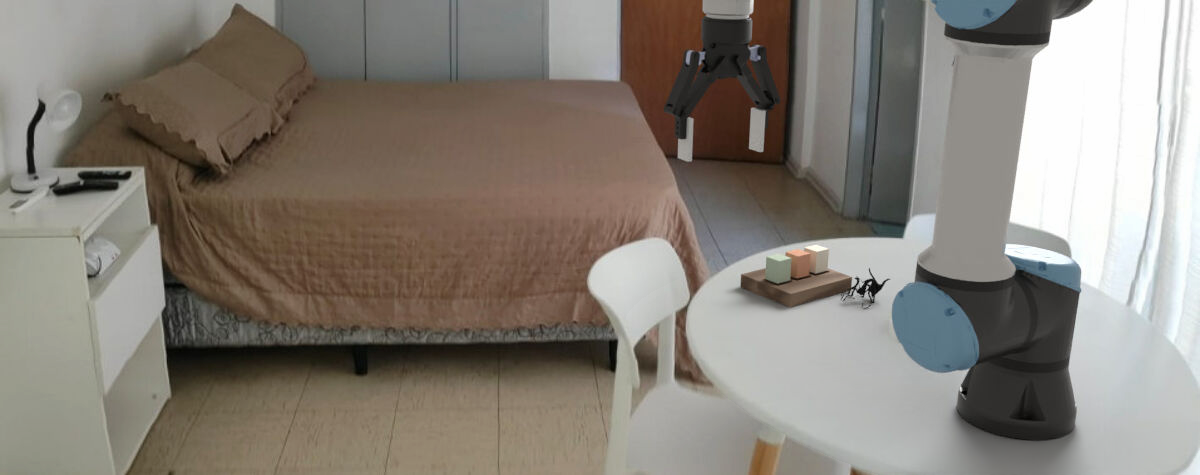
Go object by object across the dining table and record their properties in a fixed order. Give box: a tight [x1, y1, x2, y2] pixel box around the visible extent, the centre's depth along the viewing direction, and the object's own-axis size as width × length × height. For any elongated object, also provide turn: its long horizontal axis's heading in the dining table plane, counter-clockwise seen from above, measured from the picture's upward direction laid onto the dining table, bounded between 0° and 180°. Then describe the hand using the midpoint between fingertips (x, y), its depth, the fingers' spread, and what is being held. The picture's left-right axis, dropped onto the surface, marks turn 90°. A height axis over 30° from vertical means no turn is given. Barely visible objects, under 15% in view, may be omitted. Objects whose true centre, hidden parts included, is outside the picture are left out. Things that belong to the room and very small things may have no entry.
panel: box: [740, 267, 853, 308], centre depth 206 cm, size 12×15×2 cm
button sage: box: [765, 253, 792, 284], centre depth 203 cm, size 3×3×4 cm
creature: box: [840, 267, 891, 310], centre depth 201 cm, size 8×5×8 cm
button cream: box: [803, 244, 830, 274], centre depth 208 cm, size 3×3×4 cm
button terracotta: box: [784, 248, 811, 279], centre depth 205 cm, size 3×3×4 cm
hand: (721, 155), depth 183 cm, fingers open, 13 cm apart
